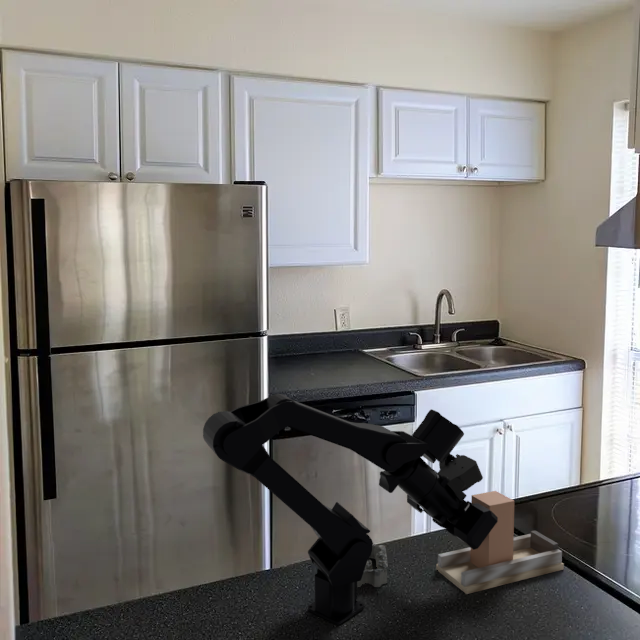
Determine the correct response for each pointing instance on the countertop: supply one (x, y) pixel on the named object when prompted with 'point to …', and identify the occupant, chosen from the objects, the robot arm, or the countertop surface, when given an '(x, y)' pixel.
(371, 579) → the egg carton
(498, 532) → the chute block
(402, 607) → the countertop surface
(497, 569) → the chute
